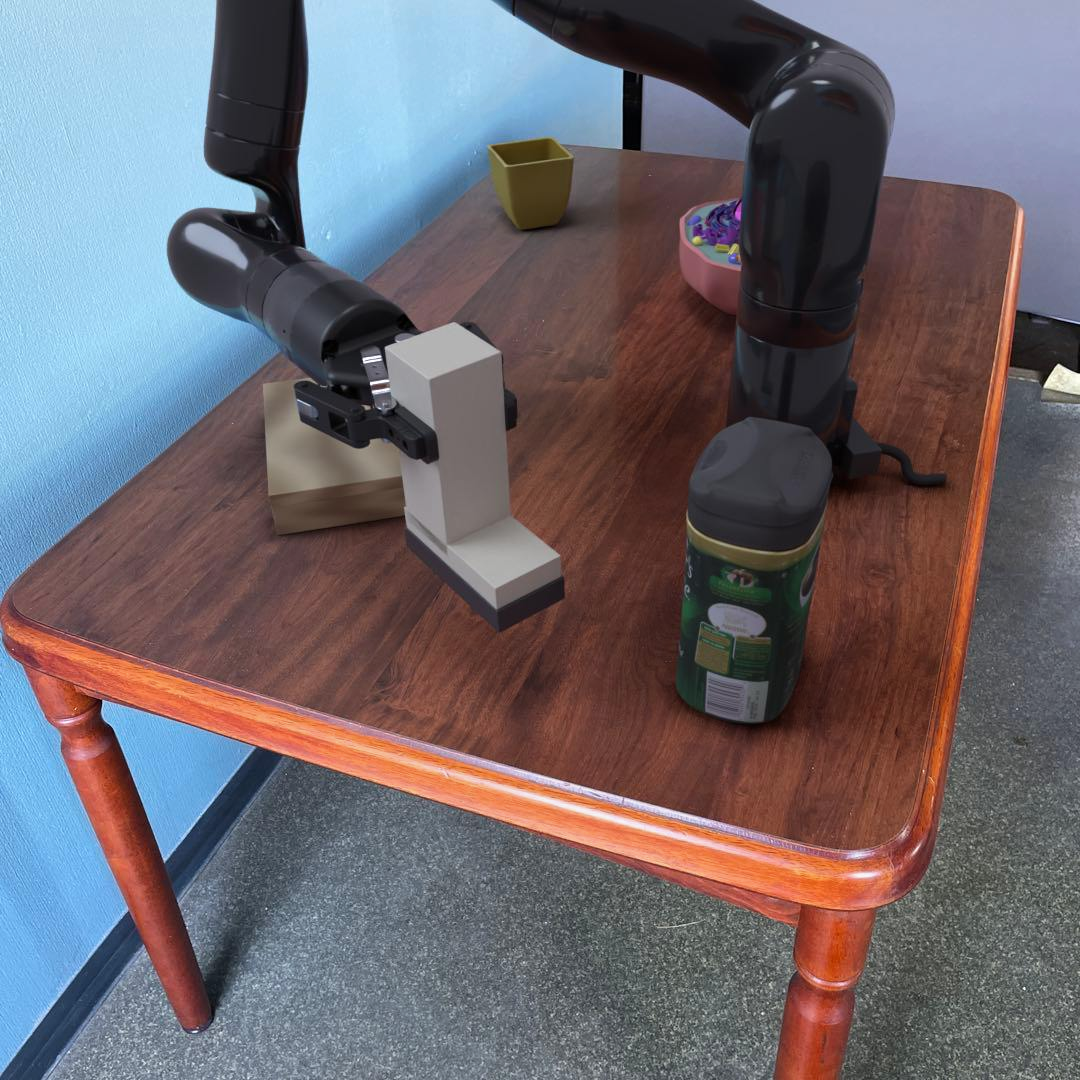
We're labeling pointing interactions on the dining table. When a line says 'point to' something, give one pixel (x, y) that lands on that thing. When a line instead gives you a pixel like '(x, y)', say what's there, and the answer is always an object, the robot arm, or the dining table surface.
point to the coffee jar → (750, 567)
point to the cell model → (712, 252)
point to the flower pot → (532, 180)
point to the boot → (468, 479)
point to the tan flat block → (324, 471)
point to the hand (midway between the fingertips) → (472, 432)
